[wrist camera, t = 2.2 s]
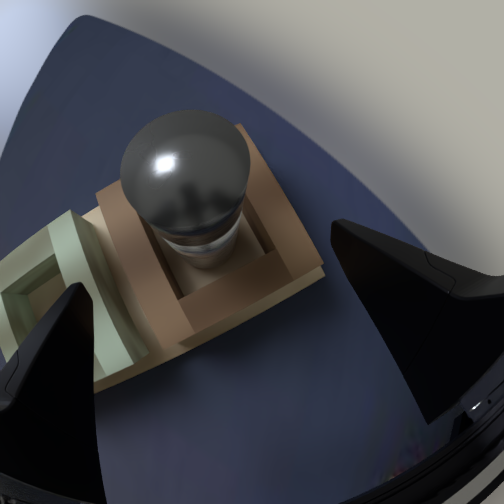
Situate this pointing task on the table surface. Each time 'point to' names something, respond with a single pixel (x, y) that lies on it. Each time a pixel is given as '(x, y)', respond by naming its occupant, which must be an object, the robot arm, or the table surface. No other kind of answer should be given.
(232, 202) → the shiny grey rounded piece
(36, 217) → the table surface
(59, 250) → the wooden desk organizer
